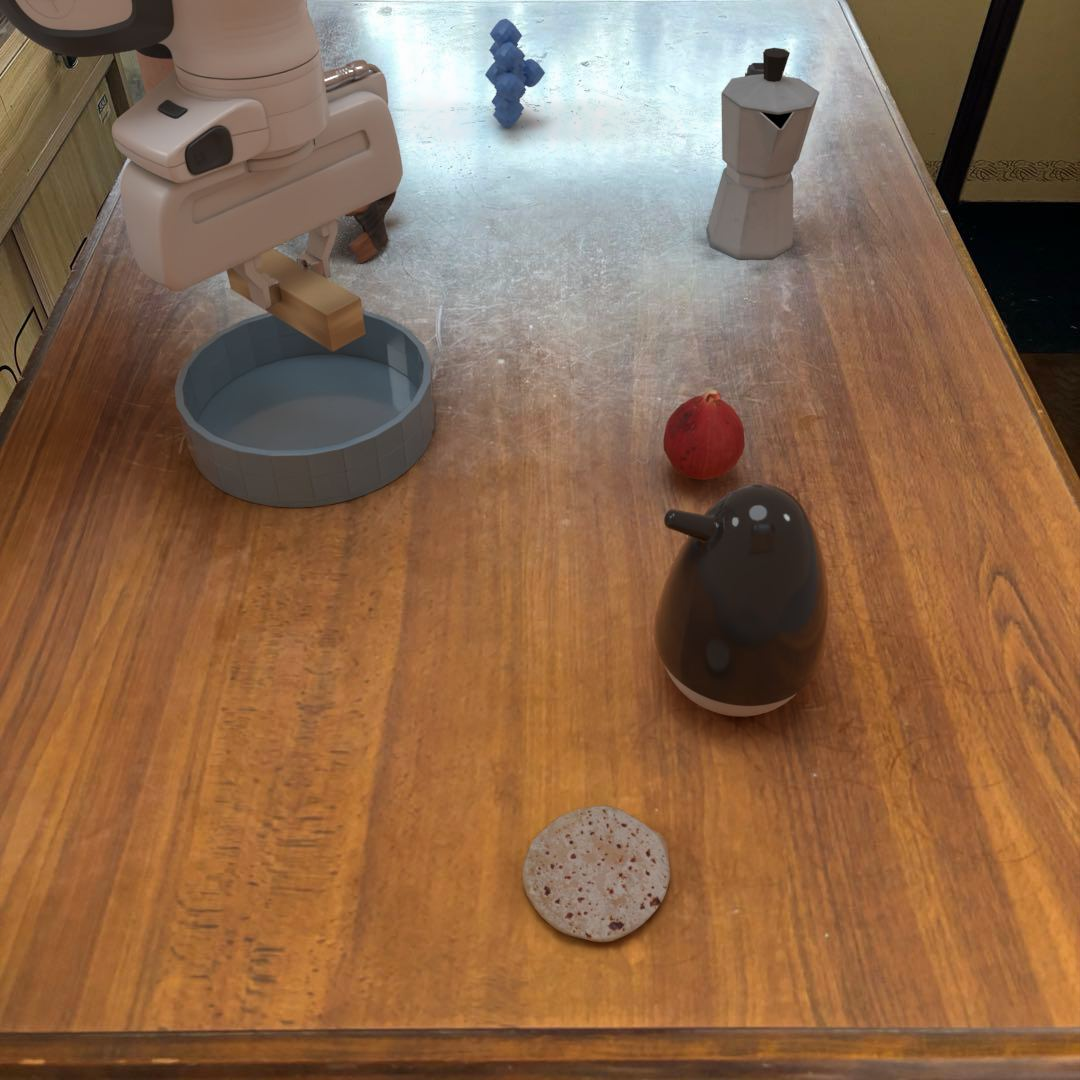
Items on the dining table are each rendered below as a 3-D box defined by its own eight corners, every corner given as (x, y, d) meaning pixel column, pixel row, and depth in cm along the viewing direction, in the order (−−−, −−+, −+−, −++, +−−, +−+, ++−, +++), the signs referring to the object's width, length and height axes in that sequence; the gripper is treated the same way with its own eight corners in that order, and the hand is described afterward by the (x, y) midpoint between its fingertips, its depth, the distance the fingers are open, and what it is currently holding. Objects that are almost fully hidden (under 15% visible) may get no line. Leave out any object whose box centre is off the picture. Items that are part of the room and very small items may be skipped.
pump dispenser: (636, 619, 73) (652, 440, 62) (791, 611, 73) (834, 432, 63) (658, 748, 66) (682, 570, 55) (830, 738, 66) (886, 560, 55)
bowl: (141, 429, 87) (124, 377, 84) (331, 330, 97) (323, 280, 94) (291, 546, 78) (280, 493, 74) (485, 422, 88) (482, 371, 84)
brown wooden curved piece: (345, 283, 104) (292, 207, 99) (305, 285, 111) (254, 214, 107) (433, 210, 107) (386, 133, 103) (389, 216, 115) (343, 145, 111)
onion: (676, 509, 81) (687, 422, 75) (649, 460, 84) (657, 374, 79) (749, 494, 82) (765, 408, 76) (719, 446, 86) (732, 361, 80)
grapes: (549, 146, 123) (551, 36, 115) (489, 149, 123) (486, 38, 115) (540, 104, 132) (540, -3, 123) (483, 106, 131) (480, -1, 123)
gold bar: (230, 289, 82) (222, 253, 80) (263, 273, 84) (256, 238, 82) (332, 352, 76) (326, 315, 74) (365, 334, 78) (360, 297, 76)
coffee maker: (805, 271, 104) (841, 79, 92) (712, 271, 104) (736, 80, 92) (779, 196, 115) (809, 16, 103) (695, 197, 115) (714, 16, 102)
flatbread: (581, 973, 56) (581, 964, 55) (496, 862, 60) (495, 853, 59) (701, 885, 59) (703, 876, 58) (613, 787, 63) (614, 777, 63)
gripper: (351, 39, 76) (373, 223, 86) (85, 135, 66) (145, 332, 75) (412, 63, 73) (428, 251, 83) (144, 168, 62) (198, 369, 72)
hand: (291, 290), depth 79 cm, fingers closed on gold bar, 3 cm apart
